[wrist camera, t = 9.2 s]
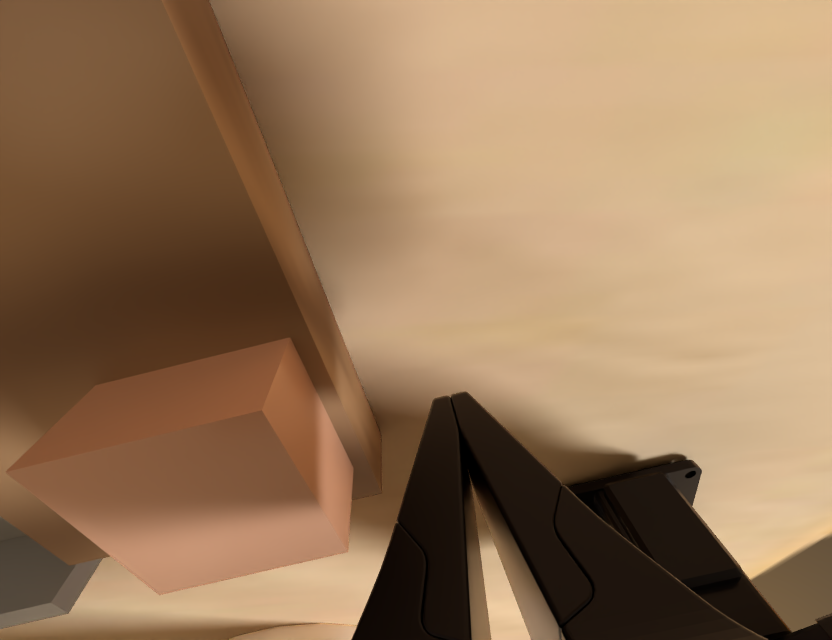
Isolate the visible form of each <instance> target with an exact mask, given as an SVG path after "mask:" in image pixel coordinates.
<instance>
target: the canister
mask: <svg viewBox="0 0 832 640" xmlns="http://www.w3.org/2000/svg"><path fill="white" fill-rule="evenodd" d="M356 627H357V625H344V624H330V623H315V624H302V625H289V626H277V627H273V628H269V629H264V630H260V631H255V632H251V633H247V634H242V635H238V636H235V637H233V638H231V639H228V640H351V639H352V637H353V634H354V632H355V630H356Z"/></svg>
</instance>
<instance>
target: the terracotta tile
mask: <svg viewBox="0 0 832 640" xmlns="http://www.w3.org/2000/svg"><path fill="white" fill-rule="evenodd" d="M353 469H354V468H353V466H352V464H351V462H350V460H349V457H348V455H347V453H346V451H345V449H344V447H343V445H342V443H341V441H340V439H339V437H338V435H337V433H336V431H335V429H334V427H333V424H332V422H331V420H330V418H329V416H328V414H327V412H326V410H325V408H324V406H323V404H322V402H321V400H320V398H319V396H318V394H317V391H316V389H315V387H314V385H313V383H312V381H311V379H310V377H309V375H308V373H307V371H306V369H305V367H304V365H303V363H302V361H301V358H300V356H299V354H298V352H297V350H296V348H295V346H294V344H293V342H292V340H291V338H290V337H289V338H285V339H281V340H277V341H273V342H269V343H265V344H261V345H257V346H253V347H249V348H245V349H241V350H237V351H233V352H229V353H224V354H220V355H216V356H212V357H208V358H204V359H200V360H196V361H192V362H188V363H184V364H180V365H176V366H172V367H168V368H164V369H160V370H156V371H152V372H148V373H144V374H139V375H135V376H131V377H127V378H123V379H119V380H115V381H111V382H107V383H103V384H99V385H95V386H94V387H93V388H92V389H91V390H90V391H89V392H88V393H87V394H86V395H85V396H84V397H83V398H82V399H81V400H80V401H79V402H78V403H77V404H76V405H74V406H73V407H72V408H71V409H70V410H69V411H68V412H67V413H66V414H65V415H64V416H63V417H62V418H61V419H60V420H59V421H58V422H57V423H56V424H55V425H54V426H53V427H52V428H51V429H49V430H48V431H47V432H46V433H45V434H44V435H43V436H42V437H41V438H40V439H39V440H38V441H37V442H36V443H35V444H34V445H33V446H32V447H31V448H30V449H29V450H28V451H27V452H25V453H24V454H23V455H22V456H21V457H20V458H19V459H18V460H17V461H16V462H15V463H14V464H13V465H12V466H11V467H10V468H9V469H8V470H7V471H6V473H7V474H8V475H9V476H11V477H12V478H13V479H14V480H16V481H17V482H18V483H19V484H21V485H22V486H23V487H24V488H26V489H27V490H28V491H29V492H31V493H32V494H33V495H34V496H36V497H37V498H38V499H39V500H41V501H42V502H43V503H45V504H46V505H47V506H48V507H50V508H51V509H52V510H53V511H55V512H56V513H57V514H58V515H60V516H61V517H62V518H63V519H65V520H66V521H67V522H68V523H70V524H71V525H72V526H73V527H75V528H76V529H77V530H78V531H80V532H81V533H82V534H83V535H85V536H86V537H87V538H88V539H90V540H91V541H92V542H93V543H95V544H96V545H97V546H98V547H100V548H101V549H102V550H103V551H105V552H106V553H107V554H109V555H110V556H111V557H112V558H114V559H115V560H116V561H117V562H119V563H120V564H121V565H122V566H124V567H125V568H126V569H127V570H129V571H130V572H131V573H132V574H134V575H135V576H136V577H137V578H139V579H140V580H141V581H142V582H144V583H145V584H146V585H147V586H149V587H150V588H151V589H152V590H154V591H155V592H156V593H157V594H159V595H161V594H166V593H170V592H175V591H179V590H183V589H188V588H192V587H196V586H201V585H205V584H210V583H214V582H218V581H223V580H227V579H232V578H236V577H240V576H245V575H249V574H254V573H258V572H262V571H267V570H271V569H275V568H280V567H284V566H289V565H293V564H297V563H302V562H306V561H311V560H315V559H319V558H324V557H328V556H333V555H337V554H341V553H346V552H348V546H349V530H350V515H351V500H352V484H353Z"/></svg>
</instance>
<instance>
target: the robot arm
mask: <svg viewBox="0 0 832 640" xmlns="http://www.w3.org/2000/svg"><path fill="white" fill-rule="evenodd" d="M468 471H469V472H468ZM701 473H702V470H701V469H700V467H699V466H698V465H697V464H696V463H695V462H694V461H693V460H685V461H680V462H676V463H671V464H667V465H663V466H658V467H654V468H650V469H645V470H641V471H637V472H632V473H628V474H623V475H619V476H615V477H610V478H606V479H602V480H597V481H593V482H589V483H584V484H580V485H575V486H571V487H566V486H565V485H563V486H562V482H561V481H560V480H559V479H558V478H557V477H556V476H554V475H553V474H552V473H551V472H550V471H549V470H548V469H547V468H546V467H545V466H544V465H543V464H542V463H541V462H540V461H539V460H538V459H537V458H536V457H535V456H534V455H533V454H531V453H530V452H529V451H528V450H527V449H526V448H525V447H524V446H523V445H522V444H521V443H520V442H519V441H518V440H517V439H516V438H515V437H514V436H513V435H512V434H511V433H509V432H508V431H507V430H506V429H505V428H504V427H503V426H502V425H501V424H500V423H499V422H498V421H497V420H496V419H495V418H494V417H493V416H492V415H491V414H490V413H489V412H488V411H486V410H485V409H484V408H483V407H482V406H481V405H480V404H479V403H478V402H477V401H476V400H475V399H474V398H473V397H472V396H471V395H470V394H469V393H467V392H460V393H456V394H452V395H451V398H450V397H449V396H443V397H439V398H435V399H434V400H433V402H432V405H431V409H430V412H429V415H428V419H427V422H426V425H425V428H424V432H423V435H422V438H421V442H420V445H419V448H418V451H417V455H416V458H415V461H414V465H413V468H412V471H411V474H410V478H409V481H408V484H407V488H406V491H405V494H404V497H403V501H402V504H401V507H400V511H399V514H398V517H397V523H396V524H395V527H394V530H393V533H392V536H391V540H390V543H389V546H388V549H387V552H386V555H385V558H384V561H383V564H382V566H381V569H380V572H379V574H378V577H377V579H376V582H375V584H374V587H373V589H372V592H371V594H370V597H369V599H368V602H367V604H366V606H365V609H364V611H363V613H362V616H361V618H360V620H359V623H358V625H357V627H356V630H355V632H354V634H353V637H352V639H351V640H491V633H490V625H489V617H488V609H487V601H486V594H485V586H484V578H483V570H482V562H481V554H480V547H479V539H478V531H477V523H476V515H475V507H474V499H473V492H472V486H471V482H472V485H473V488H474V491H475V494H476V497H477V499H478V502H479V505H480V507H481V510H482V512H483V515H484V518H485V520H486V523H487V525H488V528H489V531H490V533H491V536H492V538H493V541H494V544H495V546H496V549H497V551H498V554H499V557H500V559H501V562H502V565H503V567H504V570H505V572H506V575H507V578H508V580H509V583H510V585H511V588H512V591H513V593H514V596H515V598H516V601H517V604H518V606H519V609H520V611H521V614H522V617H523V619H524V622H525V625H526V627H527V630H528V632H529V635H530V638H531V640H832V614H829V615H826V616H823V617H821V618H818V619H816V622H817V624H814V625H811V626H809V627H806V628H804V629H801V630H798V631H795V632H793V633H792V632H791V630H790V629H789V628H788V626H787V625H786V624H785V623H784V621H783V620H782V619H781V618H780V616H779V615H778V614H777V613H776V611H775V610H774V609H773V608H772V607H771V605H770V604H769V603H768V602H767V600H766V599H765V598H764V597H763V595H762V594H761V593H760V591H759V590H758V589H757V588H756V586H755V585H754V584H753V583H752V582H751V580H750V579H749V578H748V577H747V575H746V574H745V573H744V572H743V570H742V569H741V567H740V565H739V564H738V563H737V561H736V560H735V559H734V558H733V557H732V555H731V554H730V553H729V552H728V550H727V549H726V548H725V547H724V545H723V544H722V543H721V542H720V540H719V539H718V538H717V537H716V535H715V534H714V533H713V532H712V530H711V529H710V528H709V527H708V526H707V524H706V523H705V522H704V521H703V519H702V518H701V517H700V516H699V514H698V513H697V512H696V511H695V509H694V508H693V507H692V505H693V502H694V498H695V494H696V491H697V487H698V483H699V480H700V476H701ZM469 475H470V476H469ZM470 479H471V481H470Z"/></svg>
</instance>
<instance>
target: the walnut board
mask: <svg viewBox="0 0 832 640" xmlns="http://www.w3.org/2000/svg"><path fill="white" fill-rule="evenodd" d="M289 337H290V338H291V340H292V342H293V344H294V346H295V348H296V350H297V352H298V354H299V356H300V358H301V361H302V363H303V365H304V367H305V369H306V371H307V373H308V375H309V377H310V379H311V381H312V383H313V385H314V387H315V389H316V391H317V394H318V396H319V398H320V400H321V402H322V404H323V406H324V408H325V410H326V412H327V414H328V416H329V418H330V420H331V422H332V424H333V427H334V429H335V431H336V433H337V435H338V437H339V439H340V441H341V443H342V445H343V447H344V449H345V451H346V453H347V455H348V457H349V460H350V462H351V464H352V466H353V468H354V469H353V484H352V500H355V499H359V498H363V497H368V496H372V495H376V494H381V493H382V456H381V434H380V431H379V429H378V426H377V424H376V421H375V418H374V416H373V413H372V411H371V408H370V406H369V403H368V401H367V398H366V396H365V393H364V391H363V388H362V386H361V383H360V381H359V378H358V376H357V373H356V371H355V368H354V366H353V363H352V361H351V358H350V355H349V353H348V350H347V348H346V345H345V343H344V340H343V338H342V335H341V333H340V330H339V328H338V325H337V323H336V320H335V318H334V315H333V313H332V310H331V308H330V305H329V303H328V300H327V297H326V295H325V292H324V290H323V287H322V285H321V282H320V280H319V277H318V275H317V272H316V270H315V267H314V265H313V262H312V260H311V257H310V255H309V252H308V250H307V247H306V245H305V242H304V239H303V237H302V234H301V232H300V229H299V227H298V224H297V222H296V219H295V217H294V214H293V212H292V209H291V207H290V204H289V202H288V199H287V197H286V194H285V192H284V189H283V187H282V184H281V181H280V179H279V176H278V174H277V171H276V169H275V166H274V164H273V161H272V159H271V156H270V154H269V151H268V149H267V146H266V144H265V141H264V139H263V136H262V134H261V131H260V129H259V126H258V124H257V121H256V118H255V116H254V113H253V111H252V108H251V106H250V103H249V101H248V98H247V96H246V93H245V91H244V88H243V86H242V83H241V81H240V78H239V76H238V73H237V71H236V68H235V66H234V63H233V60H232V58H231V55H230V53H229V50H228V48H227V45H226V43H225V40H224V38H223V35H222V33H221V30H220V28H219V25H218V23H217V20H216V18H215V15H214V13H213V10H212V8H211V5H210V2H209V0H0V516H1V517H2V518H3V519H5V520H6V521H8V522H9V523H10V524H12V525H13V526H15V527H16V528H17V529H19V530H20V531H22V532H23V533H24V534H26V535H27V536H29V537H30V538H31V539H33V540H34V541H36V542H37V543H38V544H40V545H41V546H43V547H44V548H45V549H47V550H48V551H50V552H51V553H52V554H54V555H55V556H57V557H58V558H59V559H61V560H62V561H64V562H65V563H66V564H68V565H69V566H71V565H75V564H79V563H83V562H88V561H92V560H96V559H101V558H105V557H109V556H110V555H109V554H107V553H106V552H105V551H103V550H102V549H101V548H100V547H98V546H97V545H96V544H95V543H93V542H92V541H91V540H90V539H88V538H87V537H86V536H85V535H83V534H82V533H81V532H80V531H78V530H77V529H76V528H75V527H73V526H72V525H71V524H70V523H68V522H67V521H66V520H65V519H63V518H62V517H61V516H60V515H58V514H57V513H56V512H55V511H53V510H52V509H51V508H50V507H48V506H47V505H46V504H45V503H43V502H42V501H41V500H39V499H38V498H37V497H36V496H34V495H33V494H32V493H31V492H29V491H28V490H27V489H26V488H24V487H23V486H22V485H21V484H19V483H18V482H17V481H16V480H14V479H13V478H12V477H11V476H9V475H8V474H7V473H6V471H7V470H8V469H9V468H10V467H11V466H12V465H13V464H14V463H15V462H16V461H17V460H18V459H19V458H20V457H21V456H22V455H23V454H24V453H25V452H27V451H28V450H29V449H30V448H31V447H32V446H33V445H34V444H35V443H36V442H37V441H38V440H39V439H40V438H41V437H42V436H43V435H44V434H45V433H46V432H47V431H48V430H49V429H51V428H52V427H53V426H54V425H55V424H56V423H57V422H58V421H59V420H60V419H61V418H62V417H63V416H64V415H65V414H66V413H67V412H68V411H69V410H70V409H71V408H72V407H73V406H74V405H76V404H77V403H78V402H79V401H80V400H81V399H82V398H83V397H84V396H85V395H86V394H87V393H88V392H89V391H90V390H91V389H92V388H93V387H94V386H95V385H99V384H103V383H107V382H111V381H115V380H119V379H123V378H127V377H131V376H135V375H139V374H144V373H148V372H152V371H156V370H160V369H164V368H168V367H172V366H176V365H180V364H184V363H188V362H192V361H196V360H200V359H204V358H208V357H212V356H216V355H220V354H224V353H229V352H233V351H237V350H241V349H245V348H249V347H253V346H257V345H261V344H265V343H269V342H273V341H277V340H281V339H285V338H289Z"/></svg>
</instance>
